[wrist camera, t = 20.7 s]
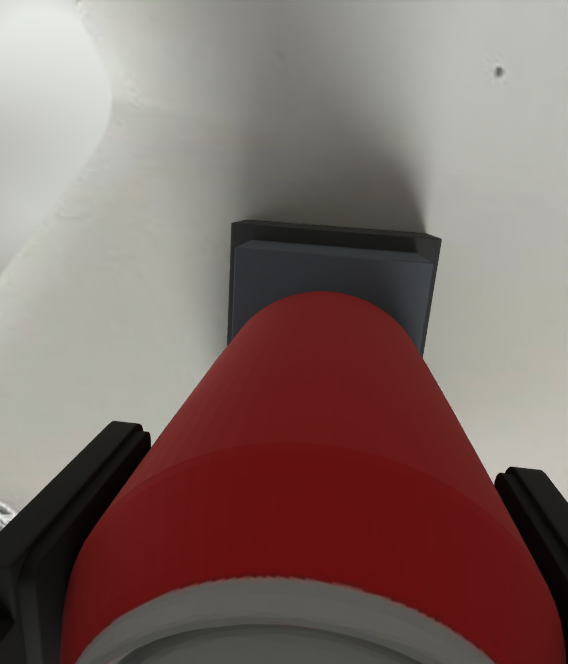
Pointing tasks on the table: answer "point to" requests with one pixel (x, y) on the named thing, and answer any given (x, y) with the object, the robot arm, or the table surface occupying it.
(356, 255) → the pad top
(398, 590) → the beverage can
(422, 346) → the pad base
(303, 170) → the table surface
